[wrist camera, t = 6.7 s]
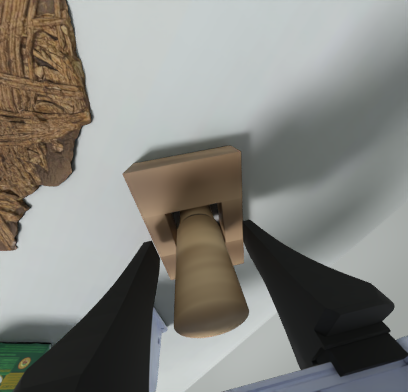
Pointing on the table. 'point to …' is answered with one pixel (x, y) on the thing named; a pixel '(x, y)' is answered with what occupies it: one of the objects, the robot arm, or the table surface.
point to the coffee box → (17, 362)
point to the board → (189, 196)
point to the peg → (205, 279)
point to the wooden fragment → (36, 104)
